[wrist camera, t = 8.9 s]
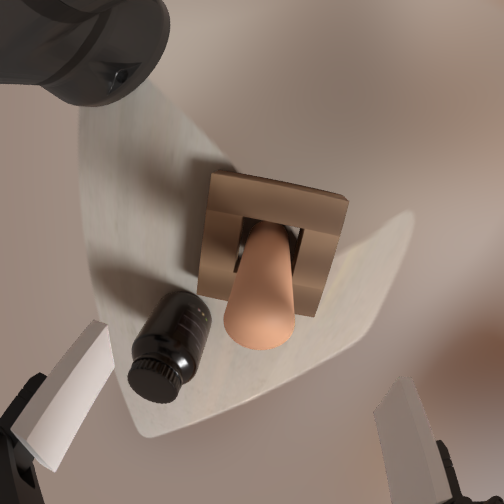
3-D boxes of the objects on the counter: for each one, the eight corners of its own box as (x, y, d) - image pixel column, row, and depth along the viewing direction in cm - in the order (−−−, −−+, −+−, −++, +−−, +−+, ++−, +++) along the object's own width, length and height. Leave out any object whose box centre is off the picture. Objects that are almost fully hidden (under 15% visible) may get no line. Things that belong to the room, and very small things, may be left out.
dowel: (245, 254, 30) (219, 342, 17) (252, 216, 28) (228, 285, 15) (283, 261, 30) (285, 354, 17) (292, 224, 28) (302, 300, 15)
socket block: (218, 169, 27) (211, 173, 24) (342, 195, 26) (349, 201, 24) (203, 280, 31) (196, 294, 28) (311, 301, 31) (314, 317, 28)
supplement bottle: (181, 343, 35) (151, 415, 24) (148, 303, 33) (102, 369, 22) (225, 324, 33) (203, 403, 22) (190, 279, 31) (149, 349, 20)
